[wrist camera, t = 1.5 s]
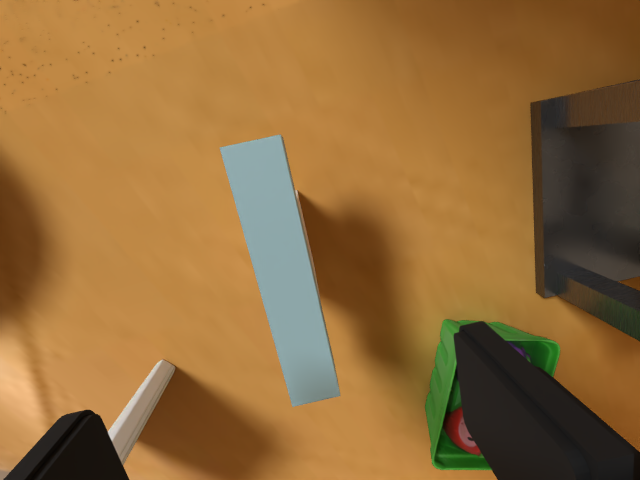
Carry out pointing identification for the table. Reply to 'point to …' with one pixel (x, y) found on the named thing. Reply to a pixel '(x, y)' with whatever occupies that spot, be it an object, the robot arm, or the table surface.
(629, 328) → the gray open box frame
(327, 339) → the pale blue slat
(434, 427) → the fruit basket
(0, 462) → the table surface
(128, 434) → the hard drive
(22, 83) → the table surface
